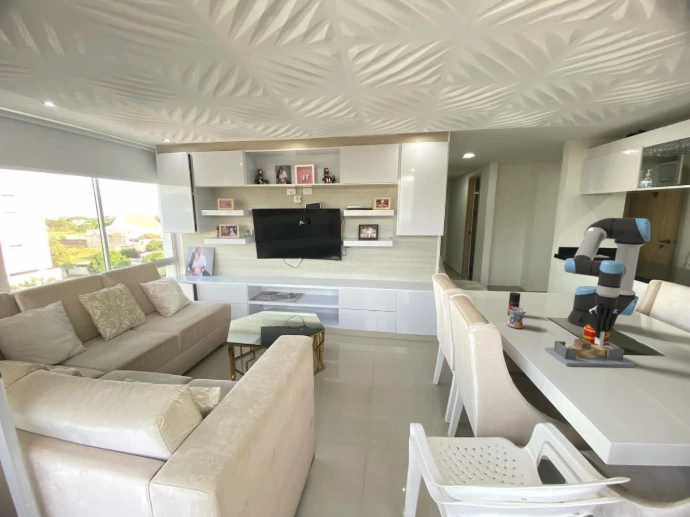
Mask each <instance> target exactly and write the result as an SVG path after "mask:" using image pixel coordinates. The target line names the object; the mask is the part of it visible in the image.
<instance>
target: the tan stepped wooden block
mask: <svg viewBox="0 0 690 517" xmlns="http://www.w3.org/2000/svg"><path fill="white" fill-rule="evenodd" d="M573 342H574V343H573V344H569V346H568V348H576V349H577V354H576V358H606V355H607V350H608V349H614V348H612V347H610V346H608V345H591V343H589V342H588V341H587V340H586V339H585V338H584V339H583V338H574V341H573Z"/></svg>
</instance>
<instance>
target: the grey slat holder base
mask: <svg viewBox="0 0 690 517" xmlns="http://www.w3.org/2000/svg"><path fill="white" fill-rule="evenodd" d="M554 342H555V343H554V347H544V351H545V352H546V353H548V354H549V355H551V356H552V357H553V358H554V359H556V360H557V361H559V363H561V364H563V365H564V366H566V367H597V368H598V367H599V368H600V367H601V368H602V367H603V368H604V367H605V368H608V367H609V368H634V363H632V362H631V361H629V360H627V359H625V358H624V355H625V349H624V348H622V347H620V346H618V345H616V344H614V343H612V342H610V341H607V342H603V345H608V346H610V347H612V348H614V349H608V350H607V355H606V358H576V354H577V349H576V348H569V347H567V346H566V344H567V342H566V341H564V340H563V341H562V340H555V341H554ZM594 345H598V344H596V343H594Z"/></svg>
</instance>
